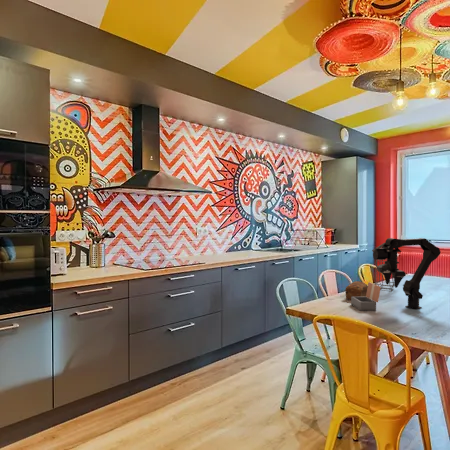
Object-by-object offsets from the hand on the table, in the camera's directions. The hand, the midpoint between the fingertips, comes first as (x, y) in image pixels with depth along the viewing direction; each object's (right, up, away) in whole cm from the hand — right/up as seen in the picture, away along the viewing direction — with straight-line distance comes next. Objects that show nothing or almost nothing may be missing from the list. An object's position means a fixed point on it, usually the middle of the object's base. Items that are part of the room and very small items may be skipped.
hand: (391, 286), depth 205 cm
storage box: (-16, -13, +1) cm, 21 cm away
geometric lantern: (+20, -12, +52) cm, 57 cm away
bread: (-10, -13, +26) cm, 31 cm away
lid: (-11, -3, +1) cm, 12 cm away
